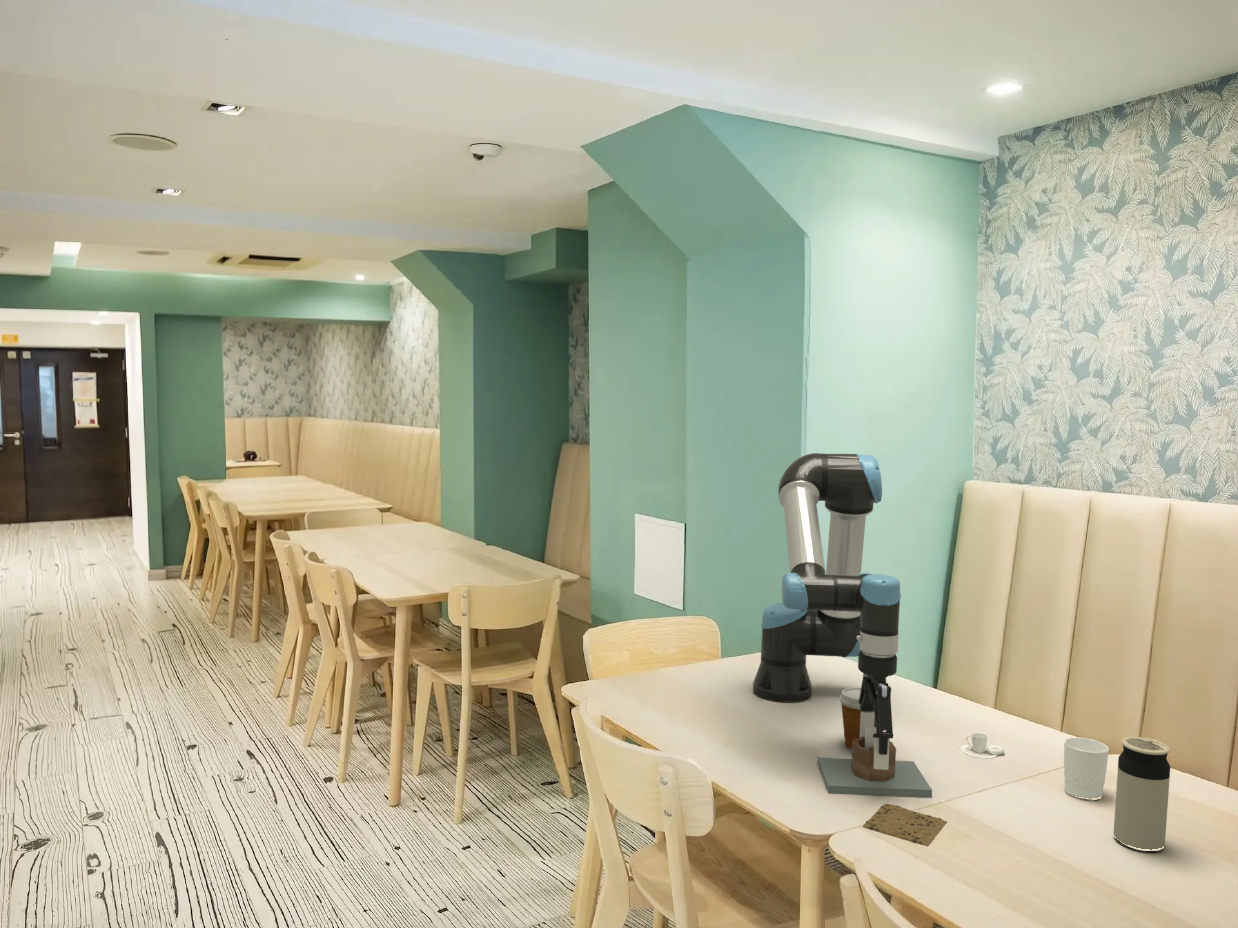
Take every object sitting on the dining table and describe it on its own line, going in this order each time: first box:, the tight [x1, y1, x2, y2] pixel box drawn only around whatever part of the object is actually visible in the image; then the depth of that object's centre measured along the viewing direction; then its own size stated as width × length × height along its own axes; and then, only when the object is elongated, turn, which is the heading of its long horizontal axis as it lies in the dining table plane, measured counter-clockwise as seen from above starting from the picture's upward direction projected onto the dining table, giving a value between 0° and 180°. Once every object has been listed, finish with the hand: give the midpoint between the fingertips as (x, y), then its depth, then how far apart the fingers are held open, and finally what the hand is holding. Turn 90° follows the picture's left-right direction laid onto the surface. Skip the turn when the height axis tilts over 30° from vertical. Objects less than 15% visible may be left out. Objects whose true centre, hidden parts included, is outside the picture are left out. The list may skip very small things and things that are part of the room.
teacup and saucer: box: [959, 732, 1005, 759], centre depth 205 cm, size 9×8×4 cm
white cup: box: [1063, 736, 1110, 799], centre depth 184 cm, size 8×8×10 cm
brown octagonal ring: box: [850, 737, 897, 782], centre depth 189 cm, size 8×8×6 cm
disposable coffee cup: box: [839, 687, 876, 751], centre depth 206 cm, size 10×10×12 cm
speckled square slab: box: [862, 803, 948, 847], centre depth 170 cm, size 12×12×1 cm
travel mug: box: [1113, 736, 1171, 850], centre depth 164 cm, size 8×8×18 cm
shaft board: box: [816, 727, 933, 798], centre depth 189 cm, size 14×20×10 cm
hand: (873, 755), depth 189 cm, fingers open, 13 cm apart
